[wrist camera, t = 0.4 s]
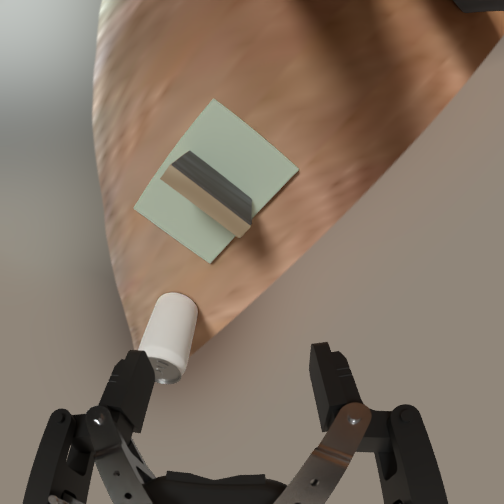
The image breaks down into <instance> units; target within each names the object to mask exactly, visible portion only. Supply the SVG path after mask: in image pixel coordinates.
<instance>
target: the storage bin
mask: <svg viewBox="0 0 504 504" xmlns="http://www.w3.org/2000/svg"><path fill="white" fill-rule="evenodd" d="M453 1H454V2H455V3H456V5H457V6H458V7H459V8H460V9H461V10H462V11H463V12H465V13H471V12H484V11H504V0H453Z"/></svg>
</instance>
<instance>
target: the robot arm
mask: <svg viewBox="0 0 504 504" xmlns="http://www.w3.org/2000/svg"><path fill="white" fill-rule="evenodd" d="M309 371H310V378H311V382H312V387H313V391H314V396H315V400H316V405H317V410H318V414H319V419H320V424H321V429H322V432H327V431H328V432H327V433H326V435H325V437H324V438H323V440H322V441H321V443H320V444H319V446H318V447H317V448H315V449H314V451H313V452H312V453H311V455H310V456H309V458H308V459H307V460H306V462H305V463H304V465H303V466H302V467H301V469H300V470H299V472H298V473H297V474H296V476H295V477H294V478H293V480H292V481H291V482H290V484H289V485H288V486H287V485H285V484H283V483H281V482H278V481H275V480H271V479H266V478H265V474H260V475H238V476H234V477H229V478H224V479H219V480H211V479H207V478H203V477H200V476H197V475H193V474H191V473H182V472H172V471H167V474H166V476H162V477H158V478H156V477H155V475H154V474H153V473H152V471H151V470H150V469H149V468H148V466H147V465H146V463H145V461H144V460H143V458H142V456H141V454H140V452H139V450H138V448H137V447H136V445H135V443H134V441H133V439H132V438H131V436H132V433H133V432H136V433H141V430H142V426H143V422H144V418H145V414H146V411H147V407H148V403H149V400H150V396H151V393H152V389H153V386H154V382H155V372H154V369H153V367H152V365H151V363H150V361H149V358H148V356H147V354H146V352H145V351H142V350H130V351H129V352H128V354H127V356H126V359H125V360H123V359H122V360H120V361H119V362H118V364H117V365H116V366H115V367H114V370H113V372H112V376H110V379H109V382H108V383H107V386H106V388H105V391H104V393H103V395H102V398H101V400H100V403H99V405H98V406H94V407H92V408H90V409H89V410H88V411H87V413H86V414H80V415H71V414H70V413H69V411H68V410H66V409H58V410H56V411H54V412H53V413H52V414H51V416H50V419H49V421H48V423H47V426H46V429H45V431H44V434H43V437H42V439H41V442H40V445H39V448H38V451H37V454H36V457H35V460H34V463H33V467H32V470H31V474H30V477H29V481H28V484H27V488H26V492H25V496H24V500H23V504H86V501H87V495H88V490H89V485H90V480H91V475H92V470H93V466H94V462H95V464H96V466H97V469H98V471H99V474H100V476H101V478H102V481H103V483H104V485H105V487H106V489H107V491H108V494H109V496H110V498H111V500H112V502H113V504H325V502H326V501H327V499H328V498H329V496H330V495H331V493H332V492H333V490H334V489H335V487H336V485H337V484H338V482H339V481H340V479H341V477H342V476H343V474H344V472H345V470H346V469H347V467H348V465H349V463H350V461H351V459H352V457H353V455H354V453H355V452H374V454H375V458H376V463H377V468H378V473H379V478H380V482H381V488H382V493H383V499H384V504H448V501H447V497H446V493H445V489H444V485H443V481H442V478H441V474H440V471H439V468H438V465H437V461H436V458H435V455H434V452H433V449H432V446H431V443H430V440H429V437H428V434H427V431H426V429H425V426H424V424H423V421H422V418H421V415H420V413H419V411H418V410H417V409H416V408H415V407H414V406H411V405H406V404H405V405H400V406H398V407H396V408H395V409H394V410H393V411H375V410H372V409H369V408H368V407H367V406H365V405H364V404H363V402H362V400H361V398H360V395H359V392H358V389H357V387H356V384H355V381H354V378H353V376H352V373H351V370H350V369H349V365H348V362H347V359H346V358H345V357H344V356H343V355H342V354H341V353H340V352H339V351H337V352H331V350H330V347H329V344H328V342H323V343H316V344H311V352H310V364H309ZM70 445H71V448H70ZM69 448H70V451H69ZM68 451H69V455H68ZM67 455H68V458H67ZM66 459H67V462H66Z"/></svg>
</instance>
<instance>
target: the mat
mask: <svg viewBox="0 0 504 504" xmlns="http://www.w3.org/2000/svg"><path fill="white" fill-rule="evenodd" d="M189 150H190V151H191V152H193V153H194V154H195V155H197V156H198V157H199V158H200V159H202V160H203V161H204V162H206V163H207V164H208V165H210V166H211V167H212V168H213V169H215V170H216V171H217V172H219V173H220V174H221V175H222V176H224V177H225V178H226V179H228V180H229V181H230V182H231V183H233V184H234V185H235V186H236V187H238V188H239V189H240V190H241V191H243V192H244V193H245V194H246V195H248V196H249V197H250V198H251V199H252V218H253V217H254V216H255V215H256V214H257V213H258V212H259V211H260V210H261V208H262V207H263V206H264V205H265V204H266V203H267V202H268V201H269V200H270V199H271V198H272V197H273V196H274V195H275V194H276V193H277V192H278V191H279V190H280V189H281V188H282V187H283V185H284V184H285V183H286V182H287V181H288V180H289V179H290V178H291V177H292V176H293V175H294V174H295V173H296V172H297V171H298V170H299V169H298V168H297V167H296V166H295V165H294V164H293V163H292V162H291V161H290V160H289V159H287V158H286V157H285V156H284V155H283V154H282V153H281V152H280V151H278V150H277V149H276V148H275V147H274V146H273V145H271V144H270V143H269V142H268V141H267V140H266V139H264V138H263V137H262V136H261V135H260V134H258V133H257V132H256V131H255V130H254V129H252V128H251V127H250V126H249V125H247V124H246V123H245V122H244V121H243V120H241V119H240V118H239V117H237V116H236V115H235V114H234V113H232V112H231V111H230V110H229V109H227V108H226V107H225V106H223V105H222V104H221V103H219V102H218V101H217V100H215V99H213V100H212V101H211V102H210V103H209V104H208V105H207V107H206V108H205V109H204V110H203V111H202V113H201V114H200V115H199V116H198V118H197V119H196V120H195V121H194V122H193V124H192V125H191V126H190V128H189V129H188V130H187V131H186V133H185V134H184V135H183V137H182V138H181V139H180V141H179V142H178V143H177V145H176V146H175V147H174V149H173V150H172V151H171V153H170V154H169V155H168V157H167V158H166V160H165V161H164V162H163V164H162V165H161V167H160V168H159V170H158V171H157V173H156V174H155V175H154V177H153V178H152V180H151V181H150V183H149V184H148V186H147V187H146V189H145V191H144V192H143V194H142V195H141V197H140V198H139V200H138V202H137V203H136V205H135V206H134V209H135V210H136V211H138V212H139V213H140V214H142V215H143V216H144V217H146V218H147V219H148V220H150V221H151V222H152V223H154V224H155V225H157V226H158V227H159V228H161V229H162V230H163V231H165V232H166V233H168V234H169V235H170V236H172V237H173V238H174V239H176V240H177V241H179V242H180V243H181V244H183V245H184V246H186V247H187V248H188V249H190V250H191V251H193V252H194V253H196V254H197V255H198V256H200V257H201V258H203V259H204V260H205V261H207V262H208V263H211V262H212V261H213V260H214V259H215V258H216V257H217V256H218V254H219V253H220V252H221V251H222V250H223V249H224V248H225V247H226V246H227V245H228V244H229V243H230V241H231V240H232V239H233V238H234V237H235V235H234V234H233V233H231V232H230V231H229V230H227V229H226V228H225V227H223V226H222V225H221V224H220V223H218V222H217V221H216V220H214V219H213V218H212V217H210V216H209V215H208V214H206V213H205V212H204V211H202V210H201V209H200V208H198V207H197V206H196V205H194V204H193V203H192V202H190V201H189V200H188V199H186V198H185V197H184V196H182V195H181V194H180V193H178V192H177V191H176V190H174V189H173V188H172V187H170V186H169V185H168V184H166V183H165V182H164V181H162V180H161V179H160V178H161V177H162V175H163V174H164V172H165V171H166V169H167V168H168V167H169V165H170V164H171V163H173V162H174V161H175V160H177V159H178V158H179V157H181V156H182V155H183V154H185V153H186V152H188V151H189Z"/></svg>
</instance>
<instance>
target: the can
mask: <svg viewBox="0 0 504 504" xmlns="http://www.w3.org/2000/svg"><path fill="white" fill-rule="evenodd" d="M197 316H198V309H197V306H196V304H195V303H194V302H193V301H192V300H191V299H190V298H189V297H187V296H186V295H184V294H181V293H176V292H171V293H166V294H163V295H162V296H160V297H159V299H158V300H157V302H156V305H155V307H154V310H153V312H152V314H151V317H150V320H149V322H148V325H147V327H146V330H145V332H144V335H143V338H142V340H141V343H140V346H139V349H138V350H142V351H145V352H146V354H147V356H148V358H149V361H150V363H151V365H152V367H153V369H154V372H155V382H157V383H162V384H174V383H177V382H178V381H179V380H180V379H181V375H182V374H183V373H184V372H185V370H186V367H187V363H188V359H189V354H190V349H191V345H192V340H193V335H194V330H195V326H196V321H197Z"/></svg>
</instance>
